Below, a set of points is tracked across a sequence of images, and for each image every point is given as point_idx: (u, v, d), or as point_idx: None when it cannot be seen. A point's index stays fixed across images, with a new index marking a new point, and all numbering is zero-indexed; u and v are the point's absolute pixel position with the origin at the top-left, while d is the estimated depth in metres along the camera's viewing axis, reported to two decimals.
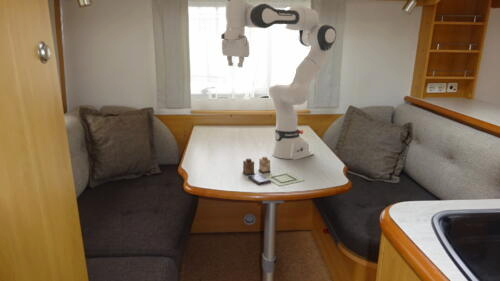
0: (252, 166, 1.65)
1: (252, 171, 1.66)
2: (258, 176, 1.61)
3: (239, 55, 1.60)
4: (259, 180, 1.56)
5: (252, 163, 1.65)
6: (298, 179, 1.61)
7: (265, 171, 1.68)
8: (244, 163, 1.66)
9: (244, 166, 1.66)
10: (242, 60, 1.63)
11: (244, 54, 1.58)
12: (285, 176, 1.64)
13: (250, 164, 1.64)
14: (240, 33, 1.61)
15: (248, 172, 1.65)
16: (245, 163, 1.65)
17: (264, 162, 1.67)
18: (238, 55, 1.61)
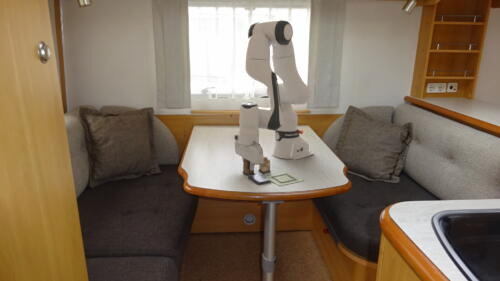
0: None
1: (252, 171, 1.66)
2: (258, 176, 1.61)
3: (253, 162, 1.58)
4: (259, 180, 1.56)
5: None
6: (298, 179, 1.61)
7: (265, 171, 1.68)
8: (244, 163, 1.66)
9: (244, 166, 1.66)
10: (253, 164, 1.63)
11: (258, 162, 1.56)
12: (285, 176, 1.64)
13: None
14: (254, 139, 1.59)
15: (248, 172, 1.65)
16: (245, 163, 1.65)
17: (264, 162, 1.67)
18: (252, 161, 1.59)
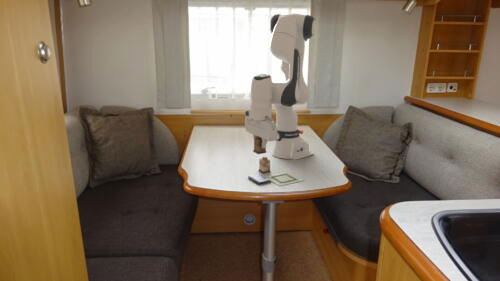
0: None
1: (264, 149, 1.54)
2: (258, 176, 1.61)
3: (266, 138, 1.47)
4: (259, 180, 1.56)
5: None
6: (298, 179, 1.61)
7: (265, 171, 1.68)
8: (255, 140, 1.54)
9: (255, 144, 1.55)
10: (266, 141, 1.51)
11: (271, 138, 1.45)
12: (285, 176, 1.64)
13: None
14: (267, 114, 1.48)
15: (259, 150, 1.53)
16: (256, 140, 1.53)
17: (264, 162, 1.67)
18: (264, 138, 1.48)
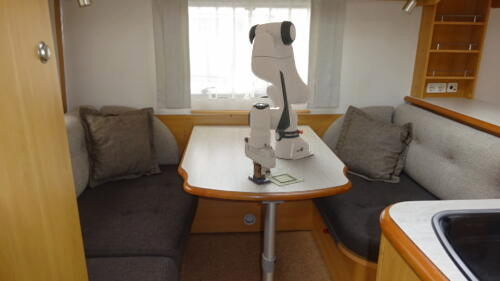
0: None
1: (263, 175, 1.58)
2: None
3: (265, 166, 1.50)
4: (259, 180, 1.56)
5: None
6: (298, 179, 1.61)
7: (265, 171, 1.68)
8: (254, 167, 1.57)
9: (254, 170, 1.58)
10: (265, 168, 1.54)
11: (270, 166, 1.48)
12: (285, 176, 1.64)
13: (261, 168, 1.56)
14: (266, 142, 1.51)
15: (259, 176, 1.57)
16: (256, 167, 1.57)
17: None
18: (264, 165, 1.51)
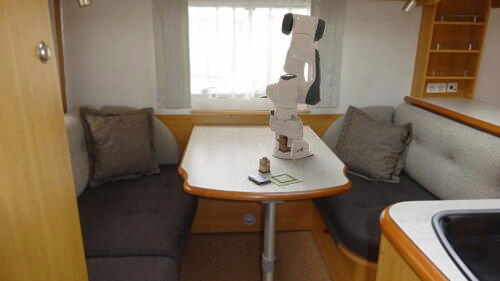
0: None
1: (289, 148, 1.57)
2: (258, 176, 1.61)
3: (292, 137, 1.49)
4: (259, 180, 1.56)
5: None
6: (298, 179, 1.61)
7: (265, 171, 1.68)
8: (280, 139, 1.56)
9: (280, 143, 1.57)
10: (291, 140, 1.53)
11: (298, 137, 1.47)
12: (285, 176, 1.64)
13: (287, 140, 1.55)
14: (293, 113, 1.50)
15: (285, 149, 1.56)
16: (281, 139, 1.56)
17: (264, 162, 1.67)
18: (291, 137, 1.50)
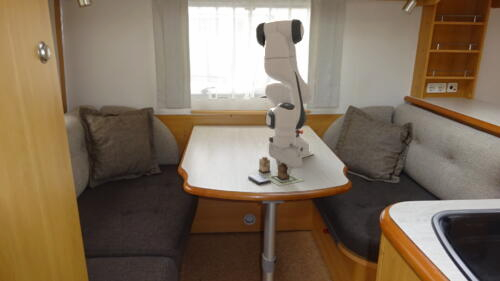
0: None
1: (287, 176, 1.60)
2: (258, 176, 1.61)
3: (291, 165, 1.52)
4: (259, 180, 1.56)
5: (287, 167, 1.59)
6: (298, 179, 1.61)
7: (265, 171, 1.68)
8: (279, 167, 1.60)
9: (279, 170, 1.60)
10: (291, 168, 1.56)
11: (297, 166, 1.50)
12: None
13: (286, 168, 1.59)
14: (291, 142, 1.53)
15: (283, 177, 1.59)
16: (280, 167, 1.59)
17: (264, 162, 1.67)
18: (289, 165, 1.53)
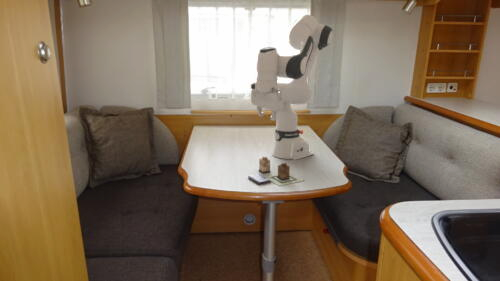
0: (287, 170, 1.59)
1: (287, 176, 1.60)
2: (258, 176, 1.61)
3: (272, 109, 1.52)
4: (259, 180, 1.56)
5: (287, 167, 1.59)
6: (298, 179, 1.61)
7: (265, 171, 1.68)
8: (279, 167, 1.60)
9: (279, 170, 1.60)
10: (275, 113, 1.55)
11: (278, 109, 1.50)
12: None
13: (286, 168, 1.59)
14: (273, 86, 1.53)
15: (283, 177, 1.59)
16: (280, 167, 1.59)
17: (264, 162, 1.67)
18: (271, 109, 1.53)
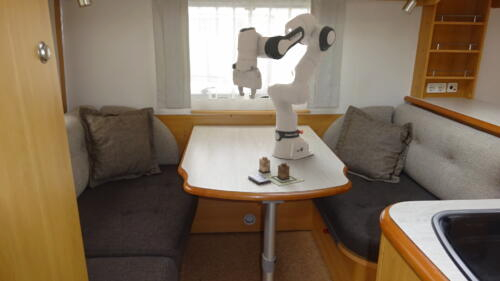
0: (287, 170, 1.59)
1: (287, 176, 1.60)
2: (258, 176, 1.61)
3: (251, 87, 1.56)
4: (259, 180, 1.56)
5: (287, 167, 1.59)
6: (298, 179, 1.61)
7: (265, 171, 1.68)
8: (279, 167, 1.60)
9: (279, 170, 1.60)
10: (254, 92, 1.58)
11: (256, 87, 1.54)
12: None
13: (286, 168, 1.59)
14: (252, 64, 1.57)
15: (283, 177, 1.59)
16: (280, 167, 1.59)
17: (264, 162, 1.67)
18: (250, 87, 1.57)
